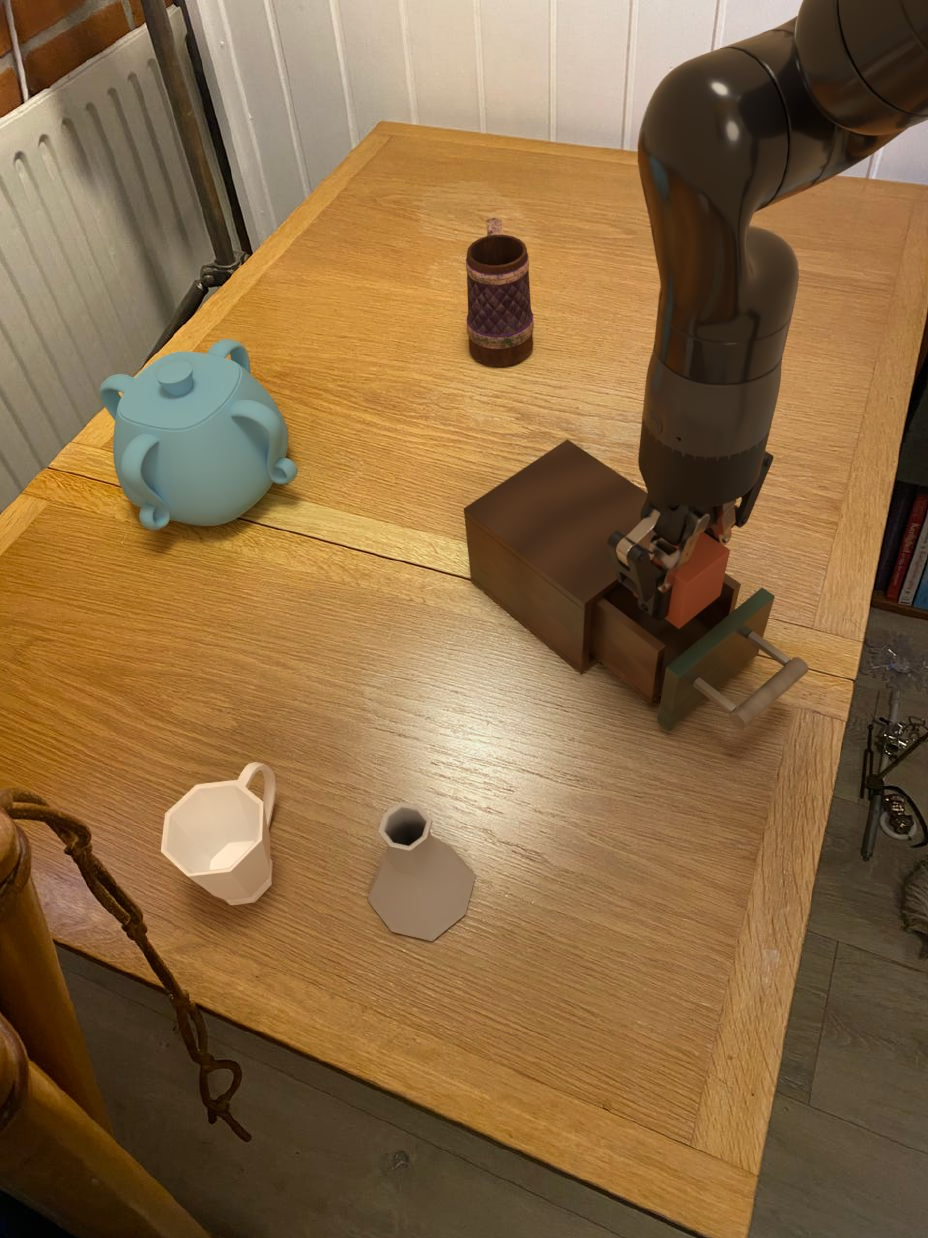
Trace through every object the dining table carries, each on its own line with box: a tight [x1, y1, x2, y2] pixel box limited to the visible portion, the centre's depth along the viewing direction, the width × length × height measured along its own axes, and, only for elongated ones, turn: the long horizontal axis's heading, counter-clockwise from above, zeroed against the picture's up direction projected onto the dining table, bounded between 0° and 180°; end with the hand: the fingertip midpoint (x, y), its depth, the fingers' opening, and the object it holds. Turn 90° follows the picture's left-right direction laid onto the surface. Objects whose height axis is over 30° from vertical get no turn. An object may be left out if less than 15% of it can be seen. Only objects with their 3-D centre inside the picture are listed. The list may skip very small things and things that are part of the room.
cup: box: [160, 761, 277, 906], centre depth 66 cm, size 7×10×8 cm
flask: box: [367, 801, 476, 942], centre depth 62 cm, size 7×7×10 cm
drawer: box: [589, 572, 809, 732], centre depth 73 cm, size 17×10×7 cm, turn 41°
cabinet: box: [463, 438, 648, 675], centre depth 78 cm, size 14×12×9 cm
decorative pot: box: [98, 338, 298, 531], centre depth 88 cm, size 16×16×14 cm
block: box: [633, 532, 731, 629], centre depth 68 cm, size 4×4×5 cm
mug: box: [465, 217, 535, 367], centre depth 100 cm, size 10×7×12 cm
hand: (677, 592), depth 70 cm, fingers closed on block, 4 cm apart
